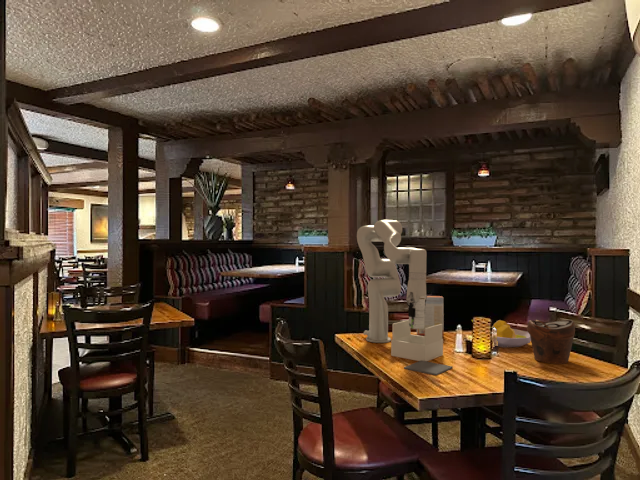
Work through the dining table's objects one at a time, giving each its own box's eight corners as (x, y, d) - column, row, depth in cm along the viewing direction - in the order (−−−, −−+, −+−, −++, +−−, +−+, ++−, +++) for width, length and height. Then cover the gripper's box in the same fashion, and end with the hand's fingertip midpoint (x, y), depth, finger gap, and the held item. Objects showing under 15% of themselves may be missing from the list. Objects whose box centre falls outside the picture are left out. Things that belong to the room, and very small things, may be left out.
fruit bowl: (541, 344, 233) (541, 321, 233) (519, 353, 214) (519, 328, 214) (487, 336, 253) (487, 315, 253) (462, 343, 233) (462, 321, 233)
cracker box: (442, 333, 258) (442, 295, 258) (443, 336, 252) (444, 297, 252) (416, 333, 259) (416, 295, 259) (417, 335, 253) (417, 296, 253)
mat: (404, 368, 187) (404, 367, 187) (421, 361, 198) (421, 360, 198) (436, 375, 178) (436, 373, 178) (452, 368, 189) (452, 366, 189)
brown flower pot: (516, 357, 207) (517, 316, 206) (549, 353, 214) (550, 314, 214) (549, 368, 190) (550, 324, 190) (585, 363, 198) (586, 321, 197)
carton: (391, 355, 208) (391, 324, 208) (410, 349, 221) (410, 319, 221) (424, 362, 198) (425, 328, 198) (442, 354, 210) (443, 323, 210)
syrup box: (408, 326, 212) (408, 294, 212) (421, 326, 213) (421, 294, 213) (411, 329, 207) (412, 296, 206) (424, 329, 207) (425, 296, 207)
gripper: (419, 274, 218) (418, 312, 219) (399, 277, 205) (399, 316, 206) (434, 275, 213) (433, 314, 214) (415, 278, 200) (414, 319, 201)
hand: (416, 315), depth 210 cm, fingers closed on syrup box, 8 cm apart
